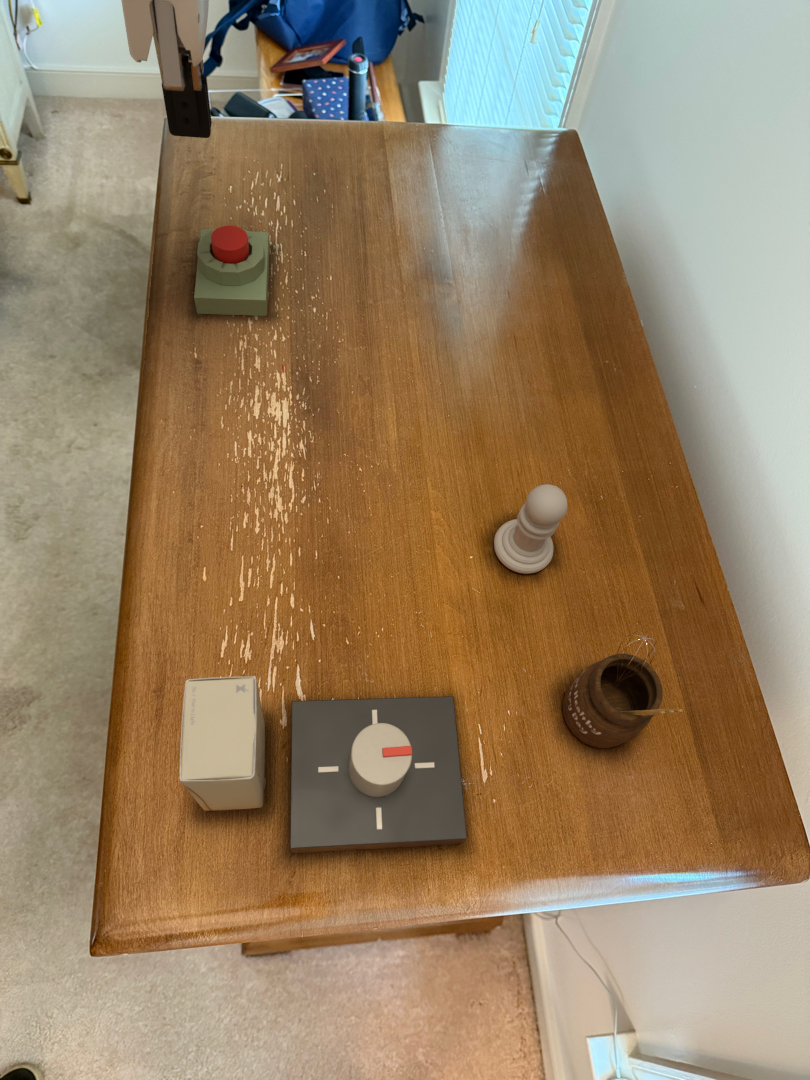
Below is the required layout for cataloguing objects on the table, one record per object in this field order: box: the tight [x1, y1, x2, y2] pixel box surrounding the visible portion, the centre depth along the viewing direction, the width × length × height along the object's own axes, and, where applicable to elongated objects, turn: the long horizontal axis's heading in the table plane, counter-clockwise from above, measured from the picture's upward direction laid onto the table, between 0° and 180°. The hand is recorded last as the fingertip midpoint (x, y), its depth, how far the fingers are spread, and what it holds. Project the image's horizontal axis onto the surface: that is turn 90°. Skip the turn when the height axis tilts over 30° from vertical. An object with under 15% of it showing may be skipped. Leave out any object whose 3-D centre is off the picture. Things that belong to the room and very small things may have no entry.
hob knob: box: [349, 723, 412, 797], centre depth 50 cm, size 4×4×5 cm
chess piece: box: [493, 483, 569, 575], centre depth 61 cm, size 5×5×9 cm
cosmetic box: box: [178, 675, 266, 812], centre depth 48 cm, size 6×4×12 cm
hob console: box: [289, 695, 468, 854], centre depth 53 cm, size 12×10×3 cm
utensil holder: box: [562, 630, 684, 749], centre depth 53 cm, size 6×6×12 cm
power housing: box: [193, 227, 271, 317], centre depth 75 cm, size 7×10×4 cm
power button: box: [211, 224, 249, 264], centre depth 73 cm, size 4×4×2 cm
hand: (191, 130), depth 59 cm, fingers closed
